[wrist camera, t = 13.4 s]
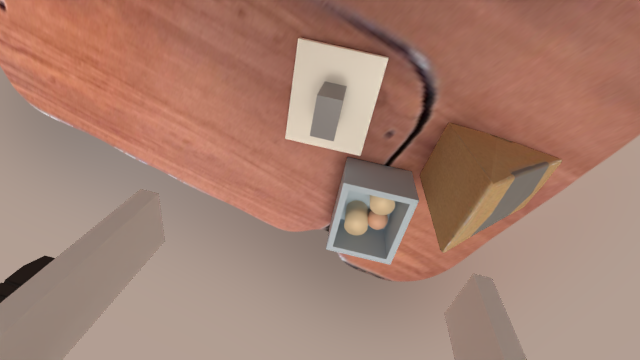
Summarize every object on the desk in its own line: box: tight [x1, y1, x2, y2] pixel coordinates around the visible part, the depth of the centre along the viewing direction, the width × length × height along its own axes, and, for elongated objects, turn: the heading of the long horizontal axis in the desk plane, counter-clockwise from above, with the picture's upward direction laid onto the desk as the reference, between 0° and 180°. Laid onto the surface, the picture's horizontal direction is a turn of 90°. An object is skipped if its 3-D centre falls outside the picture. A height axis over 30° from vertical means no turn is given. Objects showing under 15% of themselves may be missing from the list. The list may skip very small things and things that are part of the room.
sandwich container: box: [420, 123, 562, 253], centre depth 32 cm, size 9×15×15 cm, turn 74°
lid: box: [285, 38, 389, 156], centre depth 33 cm, size 12×10×8 cm
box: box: [326, 157, 419, 265], centre depth 40 cm, size 11×9×7 cm
